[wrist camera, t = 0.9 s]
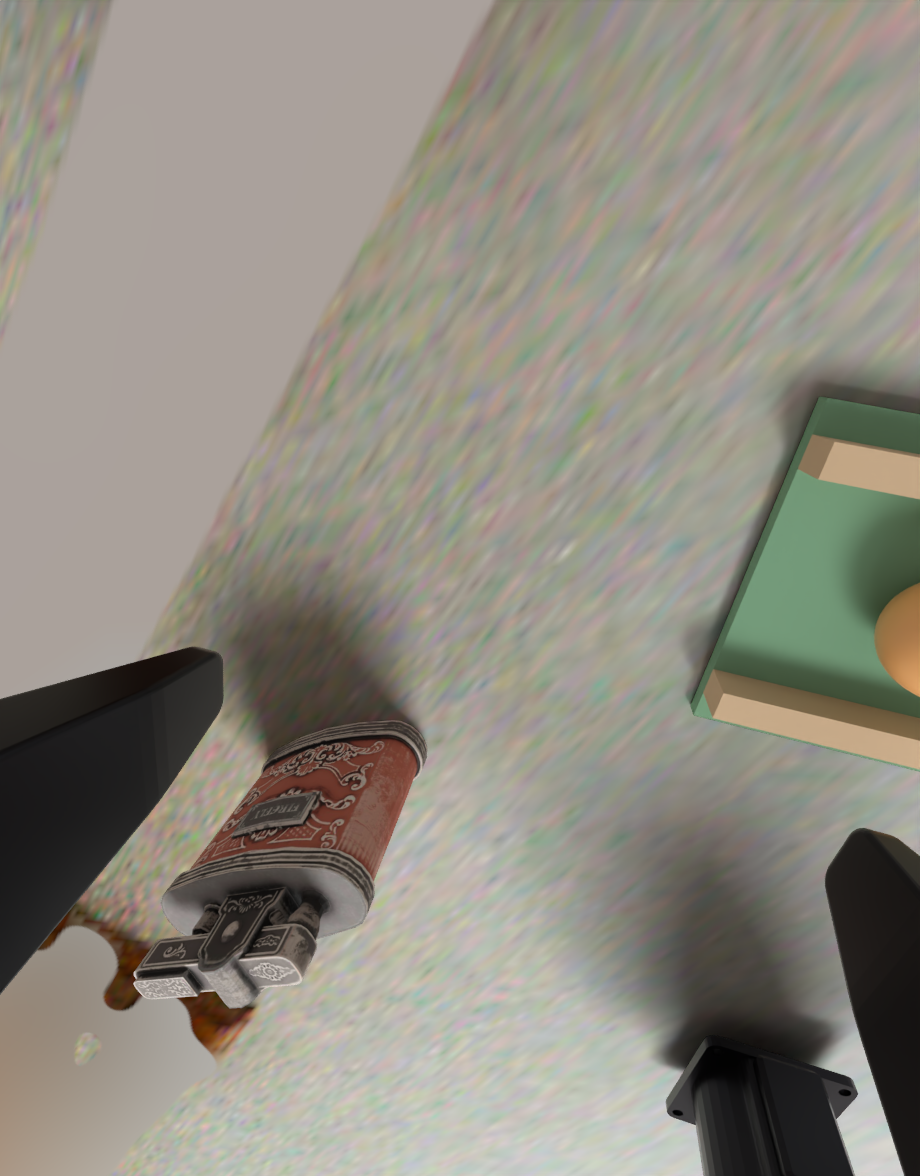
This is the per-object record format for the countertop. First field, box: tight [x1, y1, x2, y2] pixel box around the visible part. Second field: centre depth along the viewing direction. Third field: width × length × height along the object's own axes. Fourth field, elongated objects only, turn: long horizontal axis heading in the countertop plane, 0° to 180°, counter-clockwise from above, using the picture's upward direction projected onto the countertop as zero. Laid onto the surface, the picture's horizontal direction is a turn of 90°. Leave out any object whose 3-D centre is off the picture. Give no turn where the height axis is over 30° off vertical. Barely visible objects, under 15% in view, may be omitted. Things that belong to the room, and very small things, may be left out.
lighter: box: [134, 720, 427, 1008], centre depth 20 cm, size 8×3×10 cm, turn 113°
